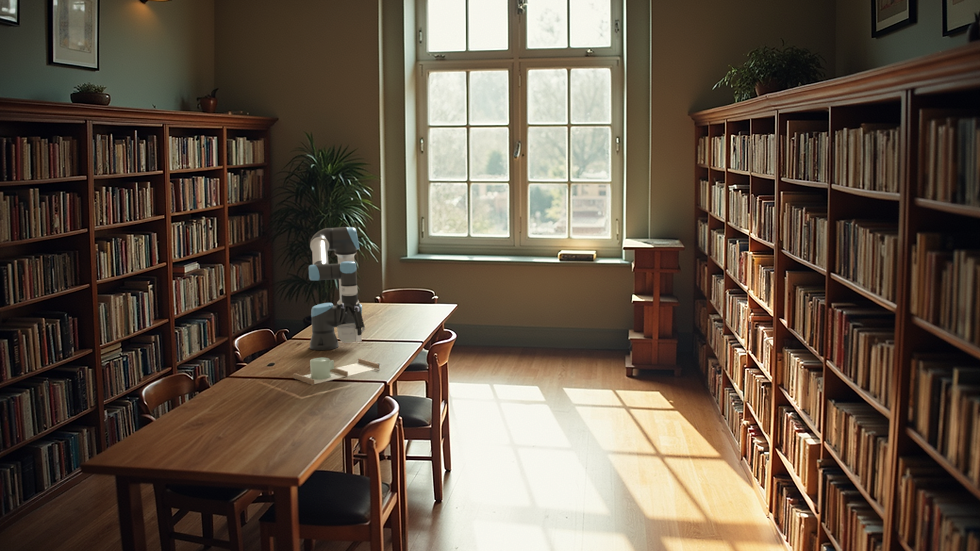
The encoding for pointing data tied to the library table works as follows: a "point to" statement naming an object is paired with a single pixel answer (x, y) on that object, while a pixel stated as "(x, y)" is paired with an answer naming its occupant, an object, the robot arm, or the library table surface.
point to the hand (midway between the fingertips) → (351, 339)
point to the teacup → (347, 332)
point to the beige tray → (342, 371)
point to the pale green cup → (321, 368)
